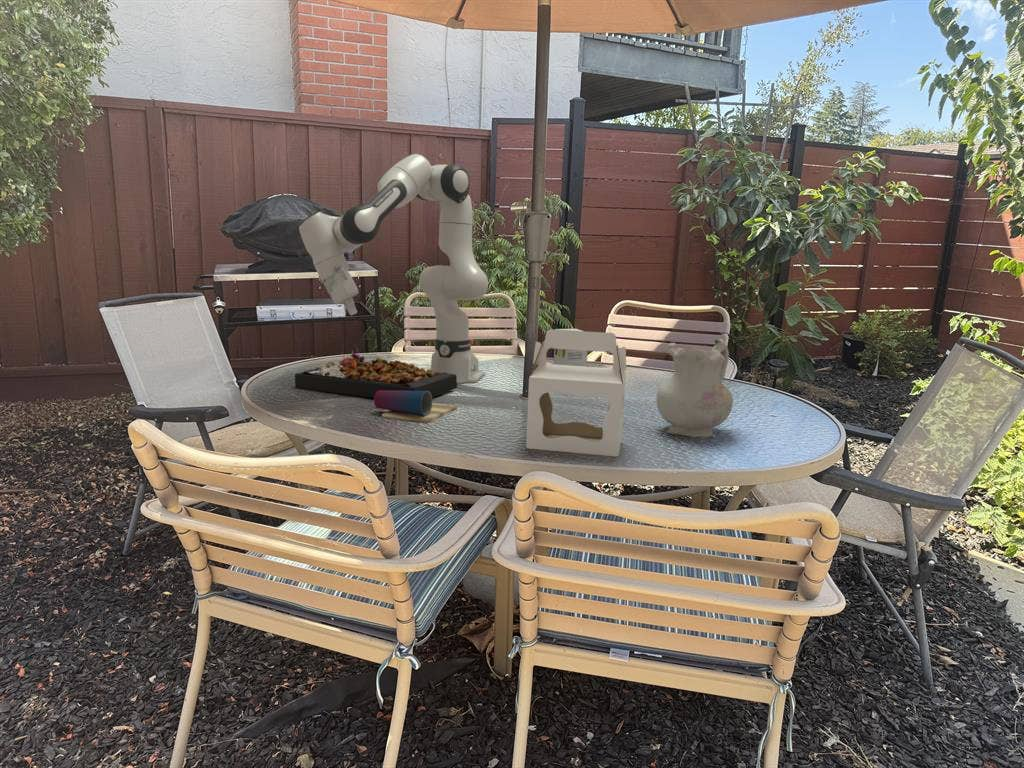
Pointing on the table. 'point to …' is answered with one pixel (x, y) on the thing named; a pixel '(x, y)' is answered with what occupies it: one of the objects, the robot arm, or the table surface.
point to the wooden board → (435, 413)
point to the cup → (404, 401)
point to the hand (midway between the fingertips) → (354, 314)
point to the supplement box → (570, 355)
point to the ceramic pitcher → (696, 391)
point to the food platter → (373, 377)
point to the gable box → (577, 384)
